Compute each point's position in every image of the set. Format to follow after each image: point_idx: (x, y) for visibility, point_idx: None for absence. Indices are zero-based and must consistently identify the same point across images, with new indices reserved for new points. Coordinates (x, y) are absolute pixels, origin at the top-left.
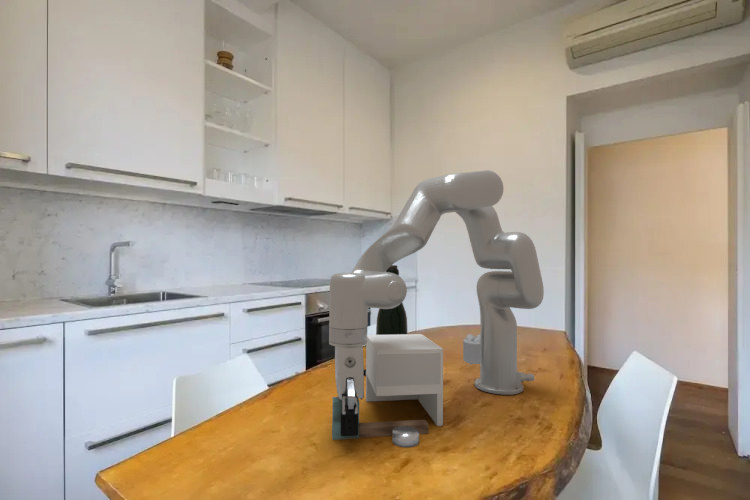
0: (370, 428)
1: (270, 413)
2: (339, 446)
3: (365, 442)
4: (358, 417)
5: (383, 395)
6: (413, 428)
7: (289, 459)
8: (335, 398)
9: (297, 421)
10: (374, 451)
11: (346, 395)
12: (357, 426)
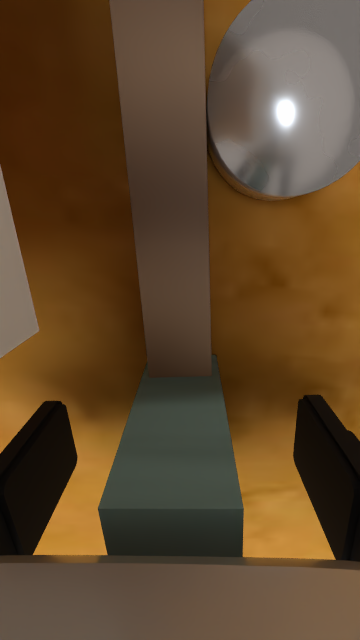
0: (209, 318)
1: None
2: (275, 425)
3: (258, 331)
4: (226, 416)
5: (18, 246)
6: (258, 16)
7: None
8: None
9: (59, 540)
10: (351, 300)
11: (4, 531)
12: (340, 424)
